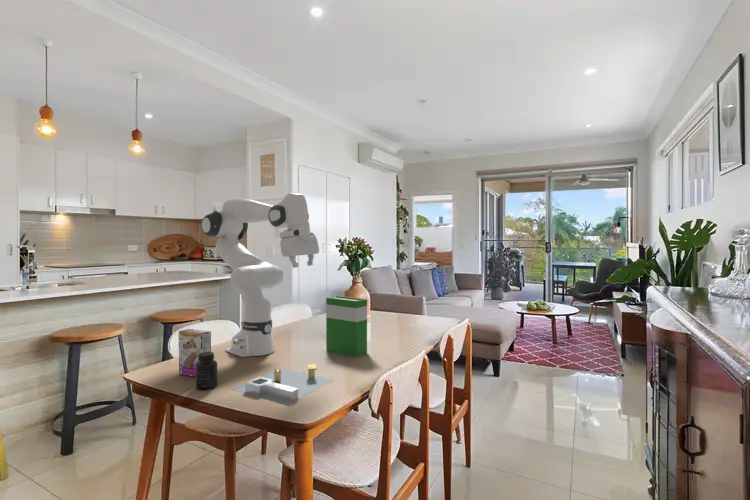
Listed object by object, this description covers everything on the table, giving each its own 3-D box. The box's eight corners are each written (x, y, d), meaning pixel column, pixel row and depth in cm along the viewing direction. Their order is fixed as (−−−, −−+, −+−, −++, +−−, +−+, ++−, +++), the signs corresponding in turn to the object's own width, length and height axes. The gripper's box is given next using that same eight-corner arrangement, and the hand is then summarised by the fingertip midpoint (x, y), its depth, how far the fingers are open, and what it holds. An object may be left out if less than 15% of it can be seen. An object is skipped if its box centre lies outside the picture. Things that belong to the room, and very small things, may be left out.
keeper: (308, 380, 136) (308, 368, 136) (307, 376, 140) (307, 364, 140) (316, 379, 136) (316, 368, 136) (315, 375, 141) (315, 364, 141)
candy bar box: (178, 375, 144) (177, 331, 143) (188, 370, 148) (188, 328, 148) (202, 378, 140) (201, 333, 139) (212, 374, 145) (211, 330, 144)
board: (230, 391, 128) (230, 388, 128) (281, 370, 149) (281, 368, 149) (287, 407, 116) (287, 404, 116) (334, 382, 136) (334, 379, 136)
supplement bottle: (200, 385, 133) (199, 350, 133) (220, 384, 134) (220, 350, 133) (192, 393, 126) (191, 356, 126) (213, 392, 127) (213, 356, 127)
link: (301, 396, 122) (301, 386, 122) (287, 403, 117) (287, 393, 116) (260, 385, 131) (260, 376, 131) (245, 391, 126) (245, 382, 125)
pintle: (272, 383, 133) (272, 370, 133) (277, 381, 135) (277, 368, 135) (277, 384, 132) (277, 371, 132) (282, 382, 134) (282, 369, 134)
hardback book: (326, 350, 176) (326, 297, 176) (337, 346, 182) (337, 295, 182) (356, 357, 166) (356, 301, 165) (367, 353, 172) (367, 299, 171)
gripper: (308, 233, 168) (312, 265, 168) (276, 233, 150) (280, 269, 150) (320, 231, 165) (324, 263, 165) (288, 231, 147) (292, 267, 147)
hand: (303, 266), depth 157 cm, fingers open, 8 cm apart
